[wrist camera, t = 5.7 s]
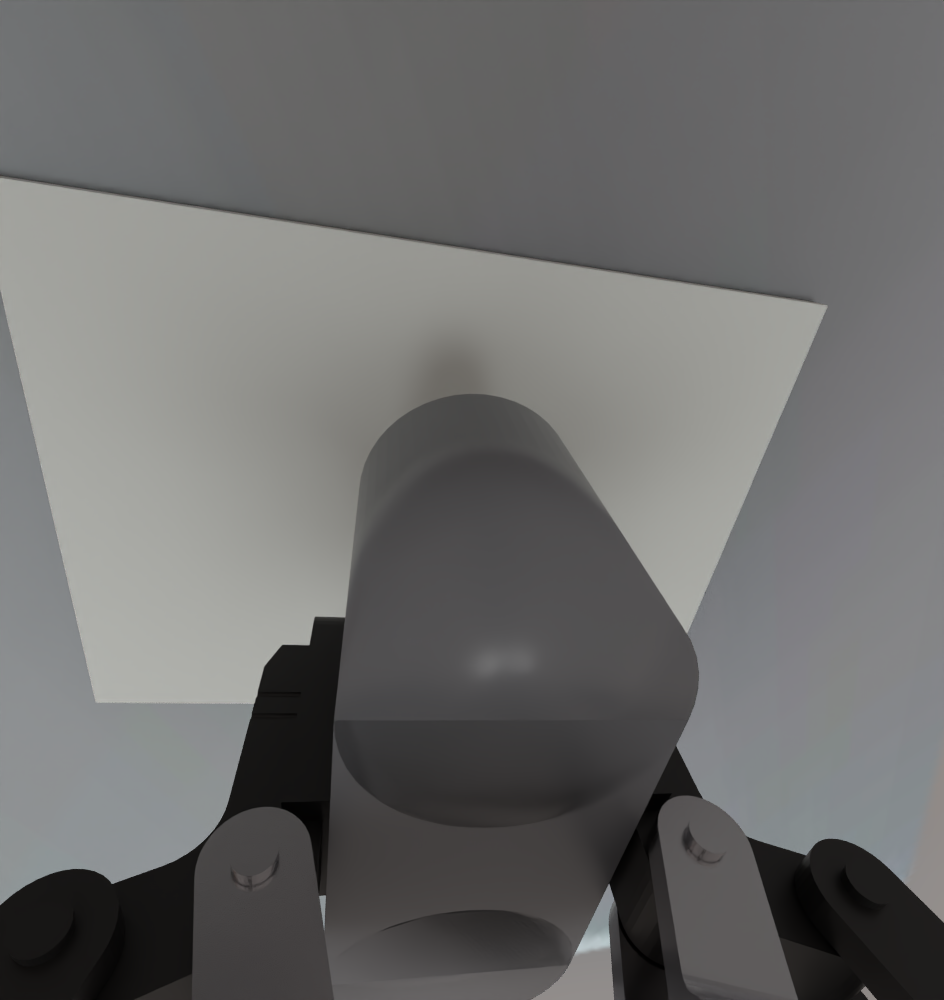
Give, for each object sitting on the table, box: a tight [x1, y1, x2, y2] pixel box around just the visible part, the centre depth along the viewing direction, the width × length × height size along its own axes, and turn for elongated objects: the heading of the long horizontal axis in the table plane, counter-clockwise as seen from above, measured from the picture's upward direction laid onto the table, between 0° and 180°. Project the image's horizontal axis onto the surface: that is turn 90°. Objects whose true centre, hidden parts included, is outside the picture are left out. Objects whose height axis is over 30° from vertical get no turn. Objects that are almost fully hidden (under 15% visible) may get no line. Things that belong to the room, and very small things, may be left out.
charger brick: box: [324, 394, 699, 1000], centre depth 10 cm, size 12×4×5 cm, turn 171°
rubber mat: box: [0, 176, 828, 704], centre depth 18 cm, size 16×21×1 cm
